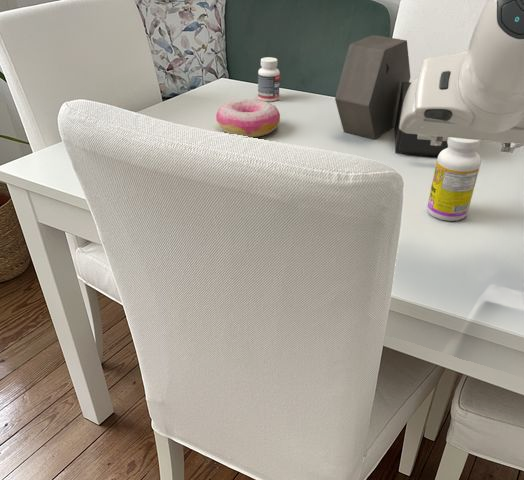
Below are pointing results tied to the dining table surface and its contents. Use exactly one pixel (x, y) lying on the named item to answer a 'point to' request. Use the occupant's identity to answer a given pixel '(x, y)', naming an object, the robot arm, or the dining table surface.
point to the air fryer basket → (420, 144)
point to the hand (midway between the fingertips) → (471, 144)
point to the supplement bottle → (454, 179)
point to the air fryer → (397, 131)
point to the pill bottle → (268, 80)
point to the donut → (248, 117)
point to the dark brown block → (372, 85)
